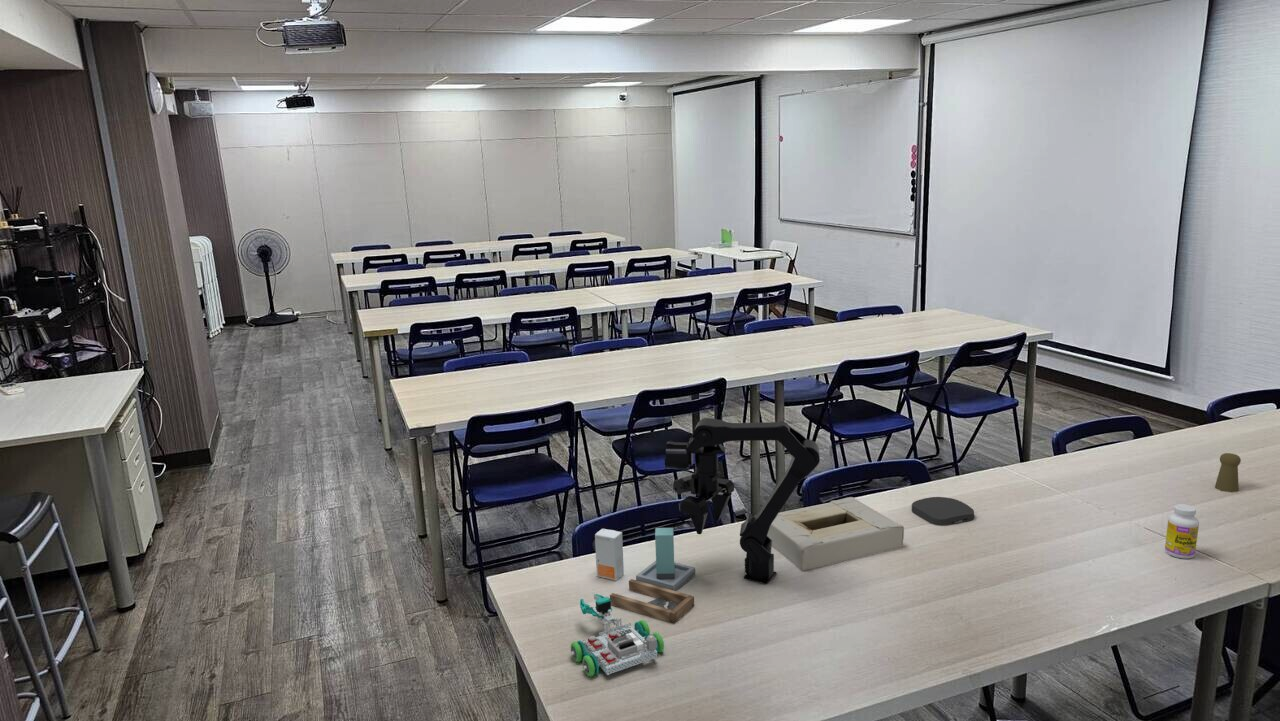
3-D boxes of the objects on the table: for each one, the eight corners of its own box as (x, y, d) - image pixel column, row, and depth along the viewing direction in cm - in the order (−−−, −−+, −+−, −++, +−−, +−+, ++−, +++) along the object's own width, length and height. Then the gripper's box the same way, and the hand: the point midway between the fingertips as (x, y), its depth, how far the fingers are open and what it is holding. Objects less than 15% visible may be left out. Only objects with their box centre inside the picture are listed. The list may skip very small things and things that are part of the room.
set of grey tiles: (688, 607, 200) (688, 603, 200) (673, 620, 194) (673, 616, 194) (656, 598, 205) (656, 595, 204) (641, 611, 199) (641, 607, 199)
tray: (695, 574, 216) (695, 567, 216) (673, 593, 207) (673, 585, 207) (659, 565, 222) (658, 558, 222) (636, 582, 213) (635, 575, 213)
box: (802, 574, 215) (904, 549, 226) (802, 546, 214) (905, 522, 225) (757, 540, 236) (852, 518, 248) (757, 515, 235) (852, 494, 246)
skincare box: (596, 577, 217) (593, 534, 214) (604, 570, 221) (602, 527, 218) (616, 581, 214) (614, 538, 212) (624, 574, 218) (622, 531, 215)
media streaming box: (905, 510, 252) (906, 500, 251) (947, 502, 256) (947, 493, 255) (936, 528, 238) (937, 518, 237) (979, 520, 242) (980, 510, 242)
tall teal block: (674, 570, 216) (673, 527, 214) (674, 579, 212) (673, 535, 209) (657, 571, 217) (655, 527, 214) (656, 579, 212) (654, 535, 210)
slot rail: (694, 605, 201) (693, 596, 200) (674, 623, 193) (673, 613, 193) (631, 587, 210) (631, 578, 210) (610, 604, 203) (609, 595, 202)
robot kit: (620, 610, 201) (618, 574, 199) (673, 660, 179) (672, 621, 177) (548, 633, 192) (545, 595, 190) (595, 688, 171) (592, 647, 169)
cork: (1218, 491, 255) (1222, 457, 253) (1211, 484, 261) (1215, 450, 258) (1241, 492, 253) (1246, 458, 251) (1234, 485, 259) (1238, 451, 256)
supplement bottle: (1169, 558, 214) (1174, 511, 211) (1160, 547, 221) (1165, 501, 218) (1199, 560, 213) (1204, 513, 210) (1189, 549, 219) (1194, 503, 216)
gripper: (696, 453, 222) (698, 508, 225) (659, 475, 206) (661, 534, 210) (734, 459, 216) (735, 516, 219) (699, 483, 200) (700, 543, 204)
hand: (708, 527), depth 213 cm, fingers open, 9 cm apart
